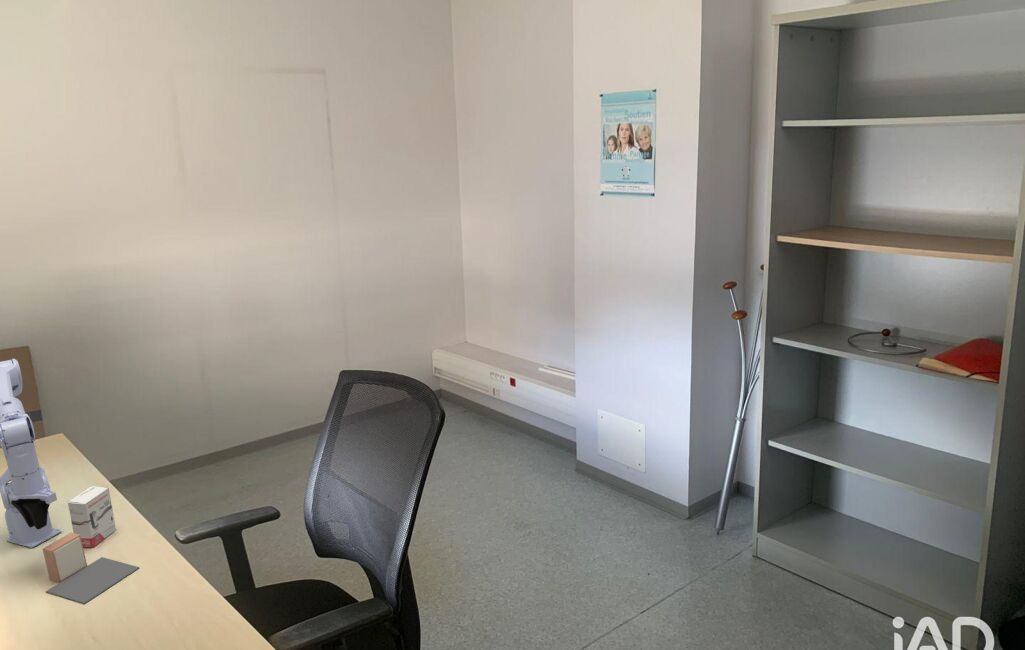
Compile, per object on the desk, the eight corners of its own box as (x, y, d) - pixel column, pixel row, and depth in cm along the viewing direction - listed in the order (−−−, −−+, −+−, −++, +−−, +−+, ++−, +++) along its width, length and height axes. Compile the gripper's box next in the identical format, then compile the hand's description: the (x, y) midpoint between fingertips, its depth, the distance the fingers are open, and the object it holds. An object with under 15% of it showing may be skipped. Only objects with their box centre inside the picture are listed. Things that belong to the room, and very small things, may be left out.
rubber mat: (45, 592, 169) (45, 591, 169) (102, 558, 181) (101, 557, 181) (84, 604, 164) (84, 603, 164) (139, 568, 177) (139, 567, 176)
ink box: (93, 548, 186) (84, 503, 182) (75, 547, 187) (65, 502, 183) (118, 529, 194) (109, 485, 191) (100, 528, 195) (91, 484, 192)
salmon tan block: (50, 580, 174) (42, 548, 171) (78, 563, 180) (71, 532, 178) (59, 583, 172) (52, 551, 170) (87, 566, 178) (80, 535, 176)
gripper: (-15, 474, 172) (-1, 529, 176) (29, 484, 166) (43, 541, 170) (16, 460, 178) (29, 514, 182) (60, 469, 172) (72, 525, 176)
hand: (38, 526), depth 176 cm, fingers closed
